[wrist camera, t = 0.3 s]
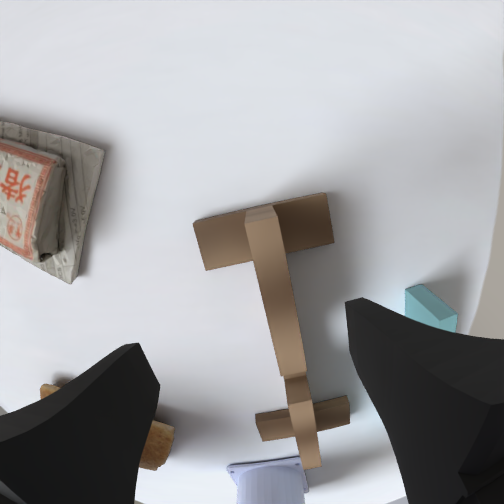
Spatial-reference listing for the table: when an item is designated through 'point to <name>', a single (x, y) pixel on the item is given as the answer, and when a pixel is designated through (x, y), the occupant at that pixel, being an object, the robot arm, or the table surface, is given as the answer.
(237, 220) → the notched board
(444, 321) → the slotted panel
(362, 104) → the table surface
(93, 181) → the packaged product
